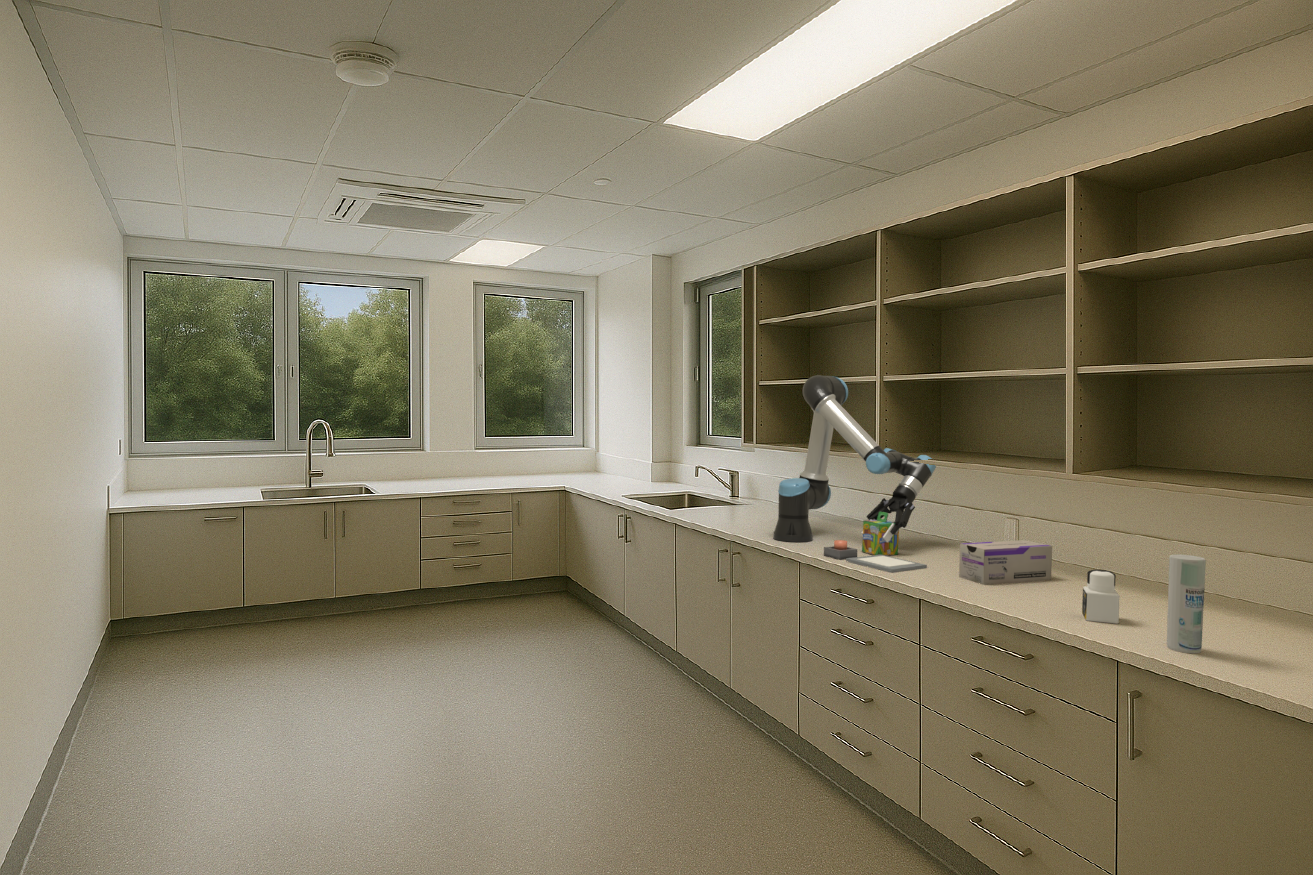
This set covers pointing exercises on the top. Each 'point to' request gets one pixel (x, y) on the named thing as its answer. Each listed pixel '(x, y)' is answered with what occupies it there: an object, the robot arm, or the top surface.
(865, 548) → the chalk box
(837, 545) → the button
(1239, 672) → the top surface
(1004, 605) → the top surface
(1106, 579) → the medicine bottle
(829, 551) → the button housing
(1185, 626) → the spray can
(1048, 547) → the surgical sutures box
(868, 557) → the board
